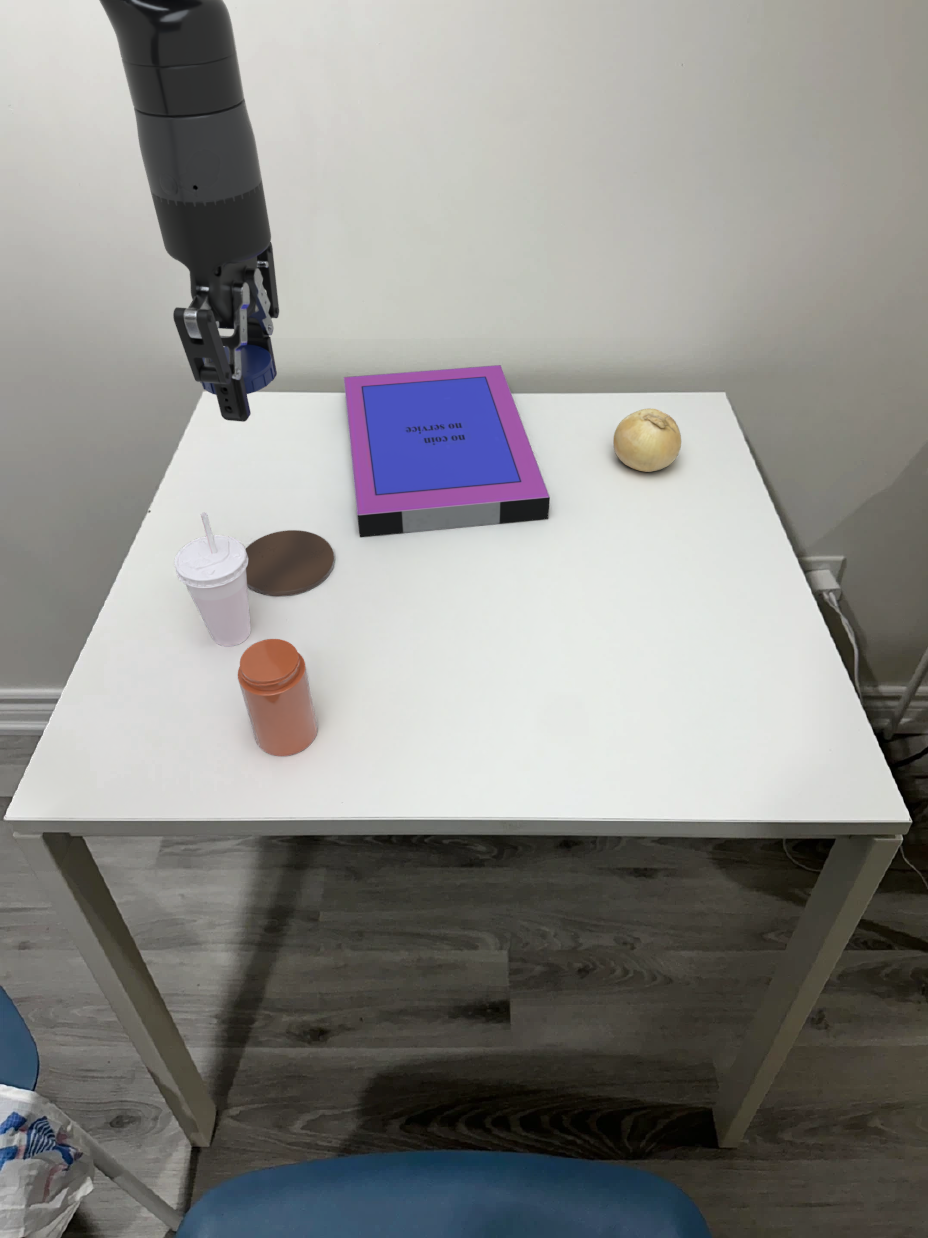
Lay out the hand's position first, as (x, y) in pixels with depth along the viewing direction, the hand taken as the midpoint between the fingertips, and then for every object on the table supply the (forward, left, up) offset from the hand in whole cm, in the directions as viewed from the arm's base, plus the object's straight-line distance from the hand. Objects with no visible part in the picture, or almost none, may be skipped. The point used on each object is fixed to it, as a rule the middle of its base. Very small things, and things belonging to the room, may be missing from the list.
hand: (250, 397), depth 70 cm
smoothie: (-4, -5, -23) cm, 24 cm away
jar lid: (-1, 0, +3) cm, 3 cm away
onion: (+35, +30, -23) cm, 52 cm away
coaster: (-2, +5, -23) cm, 23 cm away
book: (+10, +28, -23) cm, 38 cm away
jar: (+5, -16, -23) cm, 28 cm away
